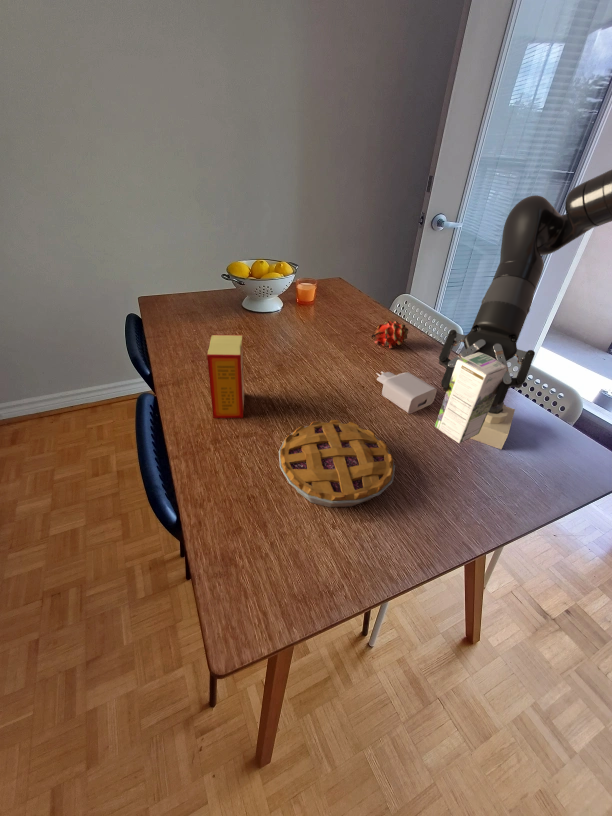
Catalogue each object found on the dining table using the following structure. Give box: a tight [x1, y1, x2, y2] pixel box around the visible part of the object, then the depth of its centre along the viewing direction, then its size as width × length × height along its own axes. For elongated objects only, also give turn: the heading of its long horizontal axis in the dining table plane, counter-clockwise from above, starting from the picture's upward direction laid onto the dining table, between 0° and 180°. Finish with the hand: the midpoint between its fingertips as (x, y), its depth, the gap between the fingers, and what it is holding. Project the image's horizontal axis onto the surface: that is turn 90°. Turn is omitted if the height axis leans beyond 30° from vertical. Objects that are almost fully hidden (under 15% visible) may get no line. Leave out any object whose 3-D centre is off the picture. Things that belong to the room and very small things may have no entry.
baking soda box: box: [206, 334, 245, 419], centre depth 87 cm, size 10×6×16 cm
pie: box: [278, 419, 396, 508], centre depth 75 cm, size 22×22×5 cm
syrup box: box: [434, 352, 507, 444], centre depth 68 cm, size 6×6×14 cm
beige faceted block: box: [469, 404, 516, 450], centre depth 89 cm, size 10×11×6 cm
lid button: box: [489, 400, 505, 414], centre depth 87 cm, size 4×4×2 cm
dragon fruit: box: [371, 319, 409, 350], centre depth 120 cm, size 8×8×12 cm
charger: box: [375, 370, 438, 415], centre depth 99 cm, size 5×9×15 cm
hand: (468, 398), depth 66 cm, fingers closed on syrup box, 7 cm apart
